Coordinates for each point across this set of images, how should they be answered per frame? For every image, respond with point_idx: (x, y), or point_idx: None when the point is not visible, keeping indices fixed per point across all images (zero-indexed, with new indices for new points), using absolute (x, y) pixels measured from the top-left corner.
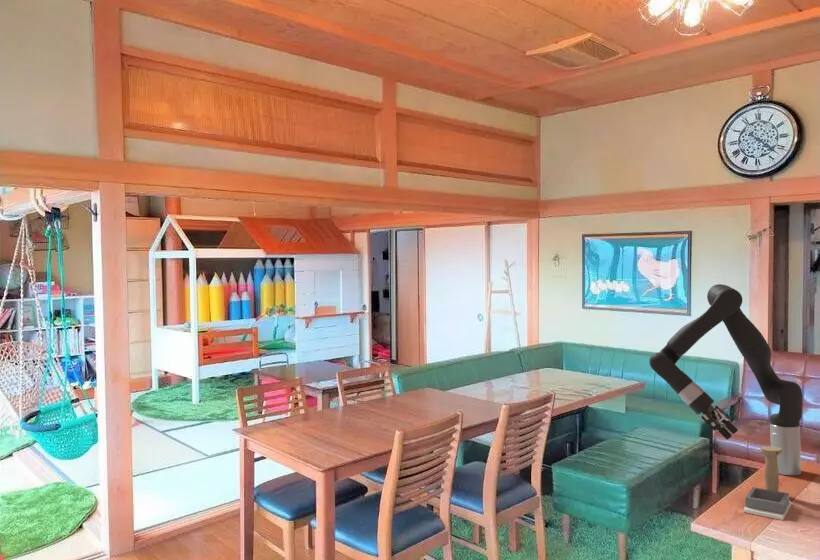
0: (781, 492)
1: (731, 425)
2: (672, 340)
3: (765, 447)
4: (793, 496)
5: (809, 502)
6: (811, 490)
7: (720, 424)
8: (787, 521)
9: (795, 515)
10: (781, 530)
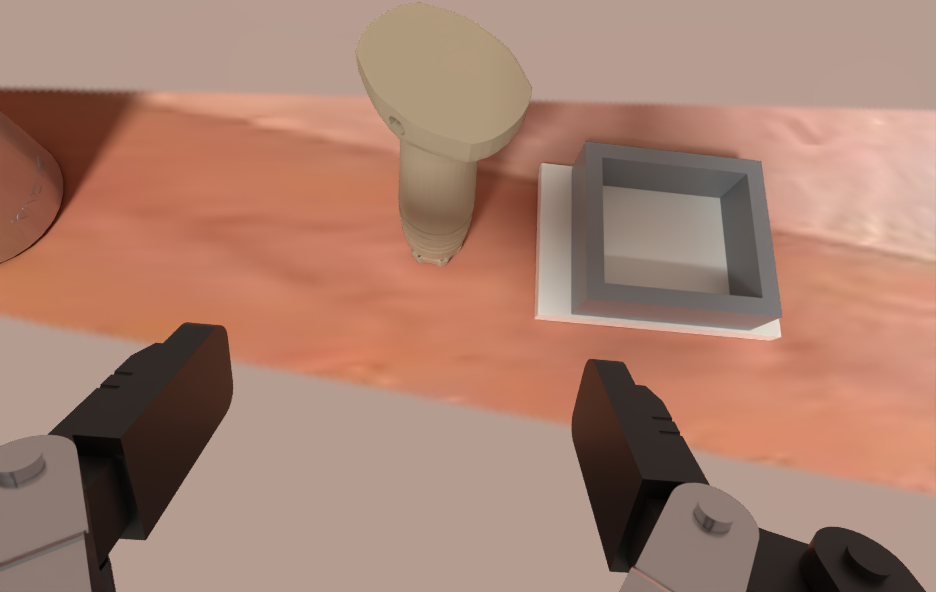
0: (593, 170)
1: (169, 403)
2: None
3: (429, 107)
4: None
5: None
6: (288, 101)
7: (739, 544)
8: None
9: None
10: (859, 197)
